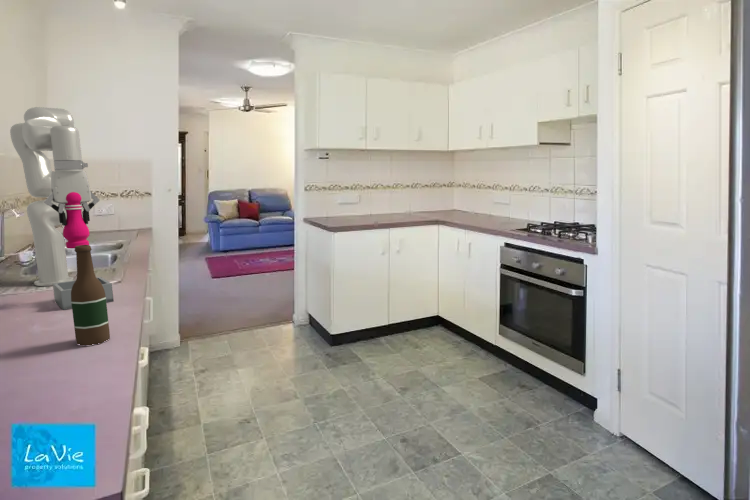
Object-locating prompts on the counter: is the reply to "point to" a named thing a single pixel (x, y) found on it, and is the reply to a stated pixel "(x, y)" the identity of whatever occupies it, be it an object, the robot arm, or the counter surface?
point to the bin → (64, 289)
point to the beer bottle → (88, 302)
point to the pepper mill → (75, 222)
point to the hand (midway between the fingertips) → (75, 223)
